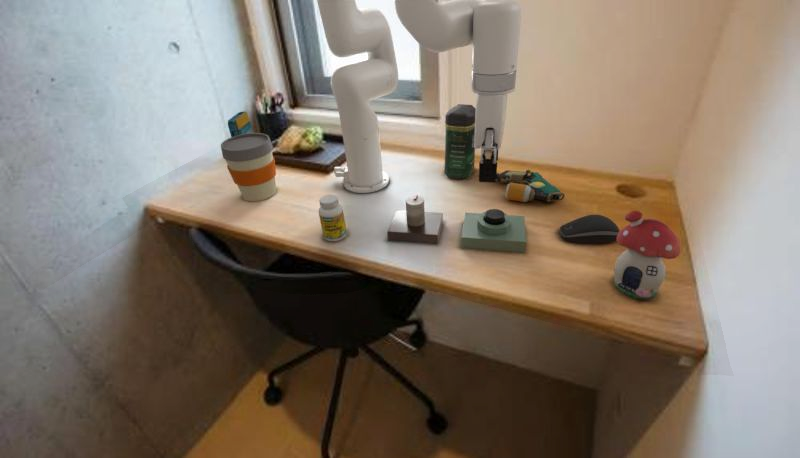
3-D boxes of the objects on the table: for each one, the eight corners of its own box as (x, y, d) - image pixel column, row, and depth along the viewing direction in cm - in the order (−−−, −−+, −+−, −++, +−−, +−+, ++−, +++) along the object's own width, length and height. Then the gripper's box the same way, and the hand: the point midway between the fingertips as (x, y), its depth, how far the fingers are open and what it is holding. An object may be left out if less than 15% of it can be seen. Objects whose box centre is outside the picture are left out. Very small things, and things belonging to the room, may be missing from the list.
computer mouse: (555, 227, 92) (557, 211, 89) (611, 225, 91) (616, 210, 89) (564, 245, 86) (567, 229, 84) (625, 244, 85) (630, 228, 83)
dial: (423, 227, 90) (422, 204, 87) (405, 225, 91) (403, 203, 88) (426, 217, 93) (425, 195, 90) (408, 216, 94) (407, 194, 91)
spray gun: (493, 178, 114) (549, 180, 113) (500, 206, 100) (564, 207, 98) (495, 164, 112) (552, 165, 111) (502, 190, 98) (567, 191, 96)
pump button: (484, 225, 87) (484, 218, 86) (485, 215, 90) (485, 208, 89) (503, 226, 86) (504, 219, 85) (504, 216, 89) (504, 209, 88)
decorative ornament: (598, 281, 76) (617, 211, 68) (619, 266, 79) (639, 198, 71) (649, 309, 70) (677, 236, 62) (669, 292, 73) (698, 220, 64)
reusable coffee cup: (247, 209, 106) (231, 155, 98) (228, 193, 114) (212, 142, 106) (291, 192, 113) (279, 140, 104) (270, 178, 121) (257, 129, 113)
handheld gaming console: (251, 156, 136) (239, 111, 127) (263, 156, 135) (251, 110, 127) (238, 169, 128) (224, 121, 119) (251, 169, 127) (238, 121, 119)
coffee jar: (469, 181, 112) (472, 114, 102) (441, 178, 115) (441, 112, 104) (477, 166, 120) (480, 102, 109) (450, 163, 122) (451, 100, 112)
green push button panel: (460, 247, 87) (461, 230, 85) (464, 222, 95) (465, 205, 93) (524, 252, 85) (527, 234, 82) (523, 226, 93) (525, 208, 90)
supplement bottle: (345, 227, 97) (340, 190, 91) (348, 239, 92) (342, 202, 87) (322, 231, 96) (315, 194, 90) (324, 244, 91) (317, 206, 86)
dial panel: (388, 240, 91) (387, 231, 90) (396, 219, 98) (396, 210, 97) (437, 244, 89) (437, 235, 87) (442, 222, 96) (442, 212, 95)
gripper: (475, 70, 80) (472, 152, 89) (467, 95, 66) (465, 190, 75) (515, 69, 78) (508, 153, 88) (515, 94, 64) (507, 192, 74)
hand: (488, 170), depth 81 cm, fingers open, 9 cm apart
